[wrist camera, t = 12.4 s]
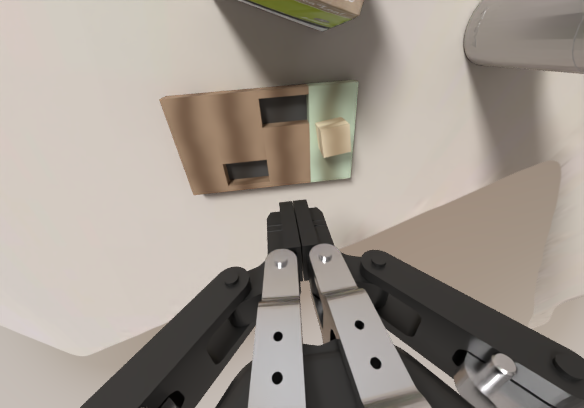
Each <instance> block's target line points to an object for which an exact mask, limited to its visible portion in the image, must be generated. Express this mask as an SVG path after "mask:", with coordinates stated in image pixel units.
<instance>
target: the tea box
mask: <svg viewBox="0 0 584 408" xmlns="http://www.w3.org/2000/svg"><path fill="white" fill-rule="evenodd" d="M238 1H241V2H243V3H246V4H249V5H251V6H254V7H257V8H260V9H262V10H265V11H267V12H270V13H273V14H275V15H278V16H281V17H283V18H286V19H289V20H292V21H294V22H297V23H300V24H302V25H305V26H308V27H311V28H313V29H316V30H319V31H325V30H328V29H329V28H332V27H335V26H338V25H340V24H342V23H345V22H347V21H349V20H352V19H354V18H356V17H359V16H360V12H361V9H362V6H363V3H364V0H238Z"/></svg>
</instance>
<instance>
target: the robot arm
mask: <svg viewBox="0 0 584 408" xmlns="http://www.w3.org/2000/svg"><path fill="white" fill-rule="evenodd" d="M464 48H465V53H466V55H467V57H468V59H469V60H470V61H471V62H473V63H475V64H477V65H484V66H496V67H506V68H518V69H530V70H542V71H554V72H567V73H579V74H584V0H482V1H481V2H480V3H479V5H478V6H477V8H476V9H475V11H474V12H473V14H472V16H471V18H470V20H469V22H468V25H467V28H466V32H465V37H464ZM279 206H280V212H272V213H270V215H269V216H268V218H267V240H268V255H267V257H266V259H265V261H264V262H263V263H262V264H261V265H260V266H258V267H256V268H254V269H252V270H249V271H246V270H245V269H244V268H241V267H231V268H227V269H225V270H224V271H222V272H221V273H220V274H219V275H218V276H217V277H216V278H215V279H213V280H212V281H211V282H210V283H209V284H208V285H207V286H206V287H205V288H204V289H203V290H202V291H201V292H200V293H199V294H198V295H197V296H196V297H195V298H194V299H193V300H192V301H191V302H190V303H188V304H187V305H186V306H185V307H184V308H183V309H182V310H181V311H180V312H179V313H178V314H177V315H176V316H175V317H174V318H173V319H172V320H171V321H170V322H169V323H168V324H167V325H166V326H165V327H163V328H162V329H161V330H160V331H159V332H158V333H157V334H156V335H155V336H154V337H153V338H152V339H151V340H150V341H149V342H148V343H147V344H146V345H145V346H144V347H143V348H142V349H141V350H140V351H139V352H137V353H136V354H135V355H134V356H133V357H132V358H131V359H130V360H129V361H128V362H127V363H126V364H125V365H124V366H123V367H122V368H121V369H120V370H119V371H118V372H117V373H116V374H115V375H114V376H113V377H111V378H110V379H109V380H108V381H107V382H106V383H105V384H104V385H103V386H102V387H101V388H100V389H99V390H98V391H97V392H96V393H95V394H94V395H93V396H92V397H91V398H89V399H88V400H87V401H86V403H84V404H83V405H82V406H81V407H80V408H195V407H196V405H197V404H198V403H199V401H200V400H201V399H202V397H203V396H204V394H205V393H206V392H207V390H208V389H209V388H210V386H211V385H212V383H213V382H214V381H215V380H216V378H217V377H218V376H219V374H220V373H221V371H222V370H223V369H224V367H225V366H226V365H227V363H228V362H229V361H230V359H231V358H232V356H233V355H234V353H236V351H237V350H238V348H239V347H240V345H241V344H242V343H243V342H244V340H245V339H246V337H247V336H248V335H249V334H250V332H251V331H252V329H253V328H254V327H255V325H256V330H255V341H254V351H253V360H252V361H251V362H250V363H248V364H247V365H246V366H245V367H244V368H243V369H242V370H241V371H240V372H239V373H238V374H237V376H236V377H235V378H234V380H233V381H232V383H231V384H230V386H229V387H228V389H227V390H226V392H225V393H224V395H223V396H222V398H221V400H220V401H219V403H218V404H217V406H216V407H215V408H584V359H583V358H582V357H581V356H579V355H578V354H576V353H575V352H573V351H571V350H570V349H568V348H566V347H564V346H562V345H560V344H558V343H556V342H555V341H553V340H550V339H549V338H547V337H545V336H543V335H541V334H539V333H538V332H536V331H534V330H532V329H530V328H528V327H526V326H524V325H522V324H520V323H519V322H517V321H515V320H513V319H511V318H509V317H507V316H505V315H503V314H501V313H500V312H497V311H496V310H494V309H492V308H490V307H488V306H486V305H484V304H482V303H480V302H479V301H477V300H475V299H473V298H471V297H469V296H467V295H465V294H464V293H462V292H460V291H458V290H456V289H454V288H452V287H450V286H448V285H446V284H445V283H442V282H441V281H439V280H437V279H435V278H433V277H431V276H429V275H428V274H426V273H424V272H422V271H420V270H418V269H416V268H414V267H412V266H411V265H408V264H407V263H405V262H403V261H401V260H399V259H397V258H395V257H393V256H392V255H389V254H388V253H386V252H383V251H379V250H370V251H367V252H365V253H364V254H363V255H362V257H355V256H349V255H345V254H343V253H341V252H340V251H339V249H338V248H337V247H335V246H334V243H333V241H332V238H331V235H330V232H329V230H328V227H327V224H326V221H325V219H324V216H323V213H322V212H321V211H320V210H319V209H318V208H317V207H315V208H308V204H307V201H306V200H297V201H293V203H292V201H289V202H280V203H279ZM302 271H303V274H302ZM303 276H304V280H305V281H307V280H309V282H310V288H311V298H312V301H313V305H314V308H315V312H316V315H317V319H318V322H319V326H320V330H321V333H322V339H323V345H321V346H315V345H307V344H303V338H302V323H301V308H300V307H301V306H300V293H301V287H300V281H303ZM385 328H386V329H387V330H388V331H390V332H391V333H392V334H394V335H395V336H396V337H398V338H399V339H400V340H402V341H403V342H404V343H406V344H407V345H408V346H410V347H411V348H413V349H414V350H415V351H417V352H418V353H419V354H421V355H422V356H423V357H425V358H426V359H427V360H429V361H430V362H431V363H433V364H434V365H435V366H437V367H438V368H439V369H441V370H442V371H444V372H445V373H446V374H448V375H449V376H450V377H452V378H453V379H454V382H455V386H456V388H457V390H458V392H459V394H460V395H459V394H458V393H457V392H456V391H454V390H453V389H452V388H451V387H449V386H448V385H447V384H445V383H444V382H443V381H442V380H441V379H439V378H438V377H437V376H436V375H434V374H433V373H432V372H431V371H429V370H428V369H427V368H426V367H425V366H423V365H422V364H421V363H419V362H418V361H417V360H416V359H415V358H413V357H412V356H411V355H409V354H408V353H407V352H405V351H404V350H402V349H401V348H399V347H397V346H395V345H394V344H393V342H392V340H391V338H390V337H389V335H388V333H387V331H386V329H385Z"/></svg>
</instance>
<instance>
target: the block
mask: <svg viewBox="0 0 584 408" xmlns="http://www.w3.org/2000/svg"><path fill="white" fill-rule="evenodd" d="M315 126H316V133H317V141H318V148H319V150H320V152H321V153H322V155H323V157H324V158H326V157H330V156H334V155H339V154H343V153H348V152H351V139H350V124H349V123H348V122H347V121H346V120H345V119H343V118H342V117H338V118H334V119H329V120H325V121H321V122H316V123H315Z"/></svg>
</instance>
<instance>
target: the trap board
mask: <svg viewBox="0 0 584 408" xmlns="http://www.w3.org/2000/svg"><path fill="white" fill-rule="evenodd" d="M358 83H359V82H358V81H355V80H344V81H332V82H321V83H310V84H299V85H287V86H276V87H265V88H254V89H242V90H231V91H220V92H208V93H197V94H186V95H175V96H165V97H163V98H161V99H159V100H160V103H161V106H162V109H163V111H164V114H165V117H166V120H167V122H168V125H169V128H170V131H171V134H172V136H173V139H174V142H175V145H176V147H177V150H178V153H179V156H180V159H181V161H182V164H183V167H184V170H185V172H186V175H187V178H188V181H189V183H190V186H191V189H192V192H193V195H200V194H209V193H218V192H227V191H236V190H245V189H255V188H264V187H273V186H282V185H291V184H300V183H309V182H318V181H327V180H337V179H346V178H350V177H351V165H352V153H353V142H354V130H355V118H356V107H357V95H358ZM338 117H342V118H343V119H345V120H346V121H347V122H348V123H349V124H350V139H351V152H348V153H343V154H339V155H334V156H330V157H326V158H324V157H323V155H322V153H321V152H320V150H319V148H318V141H317V133H316V126H315V123H316V122H321V121H325V120H329V119H334V118H338Z"/></svg>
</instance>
